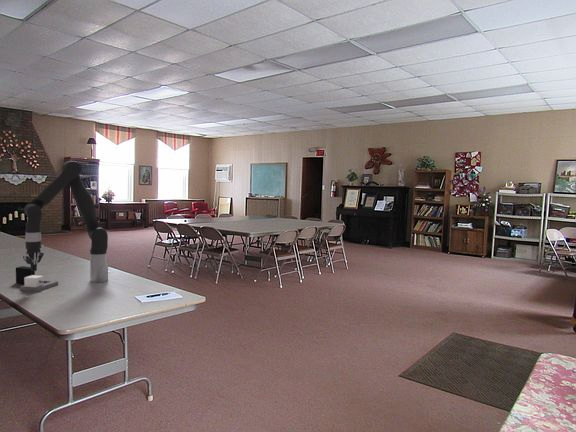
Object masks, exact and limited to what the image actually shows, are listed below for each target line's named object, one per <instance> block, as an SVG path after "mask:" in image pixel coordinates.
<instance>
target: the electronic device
mask: <svg viewBox="0 0 576 432" xmlns="http://www.w3.org/2000/svg"><path fill="white" fill-rule="evenodd" d="M31 275H36V271H31V266H26V265H23V266H17V267H15V284H19V285H24V277H28V276H31Z"/></svg>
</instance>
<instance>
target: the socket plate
mask: <svg viewBox="0 0 576 432" xmlns="http://www.w3.org/2000/svg"><path fill="white" fill-rule="evenodd" d="M58 285H59V281H58V280H48V279H44V285H41V286H38V287H26V286H24V284H22V285H21V286H19V291H24V292H25V291H27V292H36V293H37V292H40V291H45V290H47V289H49V288H53V287H55V286H58Z"/></svg>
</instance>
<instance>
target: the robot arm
mask: <svg viewBox="0 0 576 432" xmlns="http://www.w3.org/2000/svg"><path fill="white" fill-rule="evenodd" d="M82 172H83V166H82V164H81V163H80V162H78V161H75V160H70V161H69V160H68V161H65V162H63V163H62V165H61V173H60V174H59V175H58V176H57V177H56V178H55V179H54V180H53V181H52V182H50V183H49V184H48V185H46V186H45V187H44V188H43V189H42V191H40V193H39V194H38V195H37V196H36V197H34V198H33V199H32V200H30V202H28V203H27V204H26V205H25V206H24V209H23V213H24V215H25V216H27V222H26V223H25V241H24V242H25V244H24V245H25V250H26V252H25V255H23V256H22V258H23V260H24V261H25V262H26V264H27V265H30V267H31V271H35V272H36V271H37V269H38V264H39V263H40V262H41V260H42V258H43V257H44V255H45V253H44V252H42V251H41V248H42V233H41V232H42V231H41V230H42V229H41V226H42V225H41V223H42V216H43V210H42V209H43V208H44V207H45V206H47V205H49V204H50V203H51V202H52V201H53V199H55V198H56V196H57V195H58V194H60V193H61V191H62V190H64V188H65V187H66V186H67V185H68V186H69V188H70V191H71V195H72V197H73V198H74V202H75V205H76V206H77V207H76V208H77V209H78V212H79V214H80V215H81V218H82V219H83V221H84V224H85V226H86V230H87V234H88V236H89V237H88V238H89V239H90V240H91V248H90V249H89V279H90V280H89V281H90V282H92V283H104V282H107V281H109V265H108V264H107V262H108V261H107V257H108V256H107V250H108V246H109V245H108V241H109V237H108V231H107V230H106V229H105V228H103V227H102V226H101V225H100V222H99V220H98V218H97V211H96V204H95V203H94V199H93V197H92V195H91V193H90V192H89V190H88V189H87V188H86V186H85V185H84V183H83V181H82V179H81V176H80V175H81V174H82Z"/></svg>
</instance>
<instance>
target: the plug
mask: <svg viewBox="0 0 576 432" xmlns="http://www.w3.org/2000/svg"><path fill="white" fill-rule="evenodd" d="M44 280H45V277H44V275H36V274H35V275H31V276H28V277H24V284H23V285H24V286H26V287H38V286H41V285H44Z"/></svg>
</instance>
